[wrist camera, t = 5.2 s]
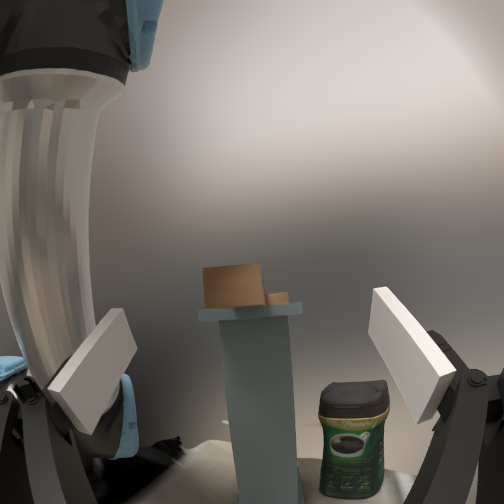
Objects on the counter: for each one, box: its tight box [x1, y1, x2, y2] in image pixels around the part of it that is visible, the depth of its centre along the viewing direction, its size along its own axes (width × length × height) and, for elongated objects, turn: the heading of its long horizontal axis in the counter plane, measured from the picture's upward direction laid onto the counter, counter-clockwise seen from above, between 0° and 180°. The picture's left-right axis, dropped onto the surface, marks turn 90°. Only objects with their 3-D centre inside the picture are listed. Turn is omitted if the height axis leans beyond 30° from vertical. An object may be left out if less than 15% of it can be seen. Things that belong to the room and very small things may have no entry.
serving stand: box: [198, 302, 305, 504], centre depth 28 cm, size 9×16×30 cm, turn 177°
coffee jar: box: [318, 380, 390, 499], centre depth 28 cm, size 10×8×19 cm
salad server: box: [203, 263, 289, 309], centre depth 26 cm, size 8×26×2 cm, turn 177°
